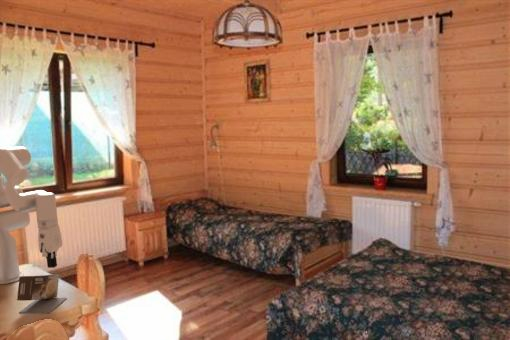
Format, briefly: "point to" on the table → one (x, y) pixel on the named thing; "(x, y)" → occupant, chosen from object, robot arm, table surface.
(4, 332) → the table surface
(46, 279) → the coffee box
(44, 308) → the mat
